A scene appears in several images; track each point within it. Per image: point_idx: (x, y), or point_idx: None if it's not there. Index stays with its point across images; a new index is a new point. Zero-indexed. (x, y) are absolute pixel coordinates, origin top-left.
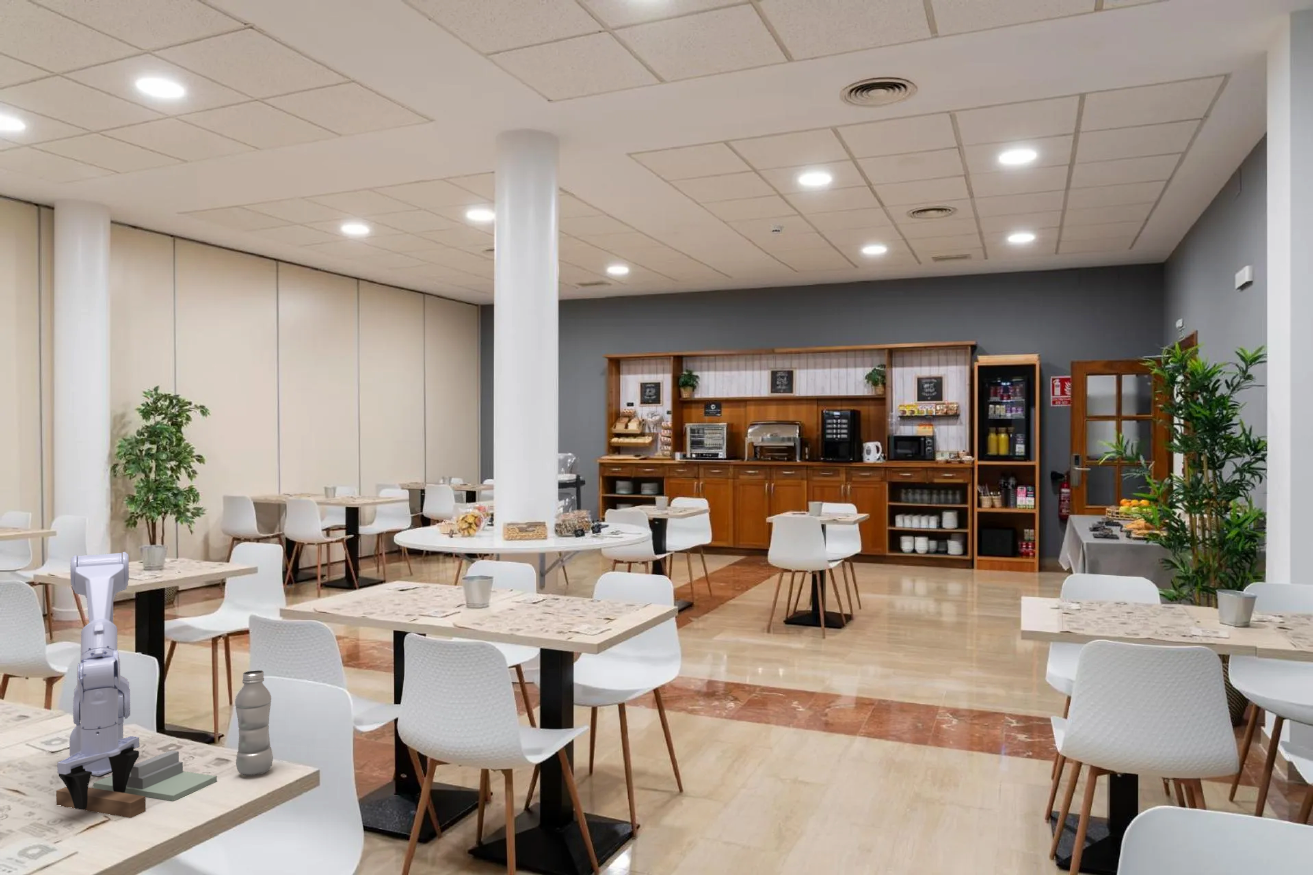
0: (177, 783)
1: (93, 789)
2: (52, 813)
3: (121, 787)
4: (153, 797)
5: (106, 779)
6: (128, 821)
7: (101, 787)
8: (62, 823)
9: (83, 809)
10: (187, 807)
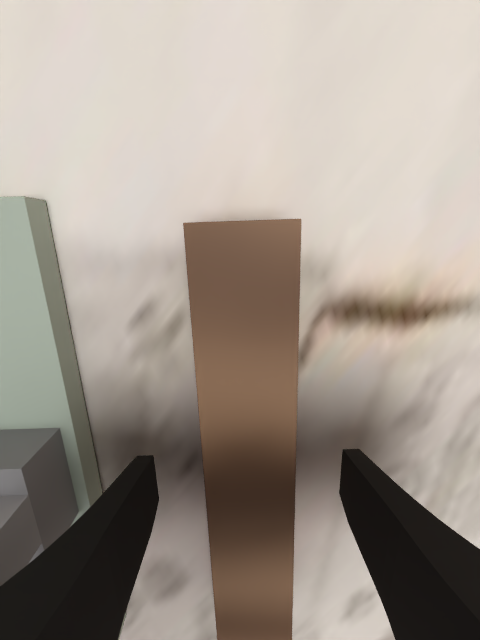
0: None
1: (223, 566)
2: (340, 551)
3: (143, 481)
4: (71, 337)
5: None
6: (320, 195)
7: None
8: (406, 449)
9: (357, 449)
10: (58, 18)
